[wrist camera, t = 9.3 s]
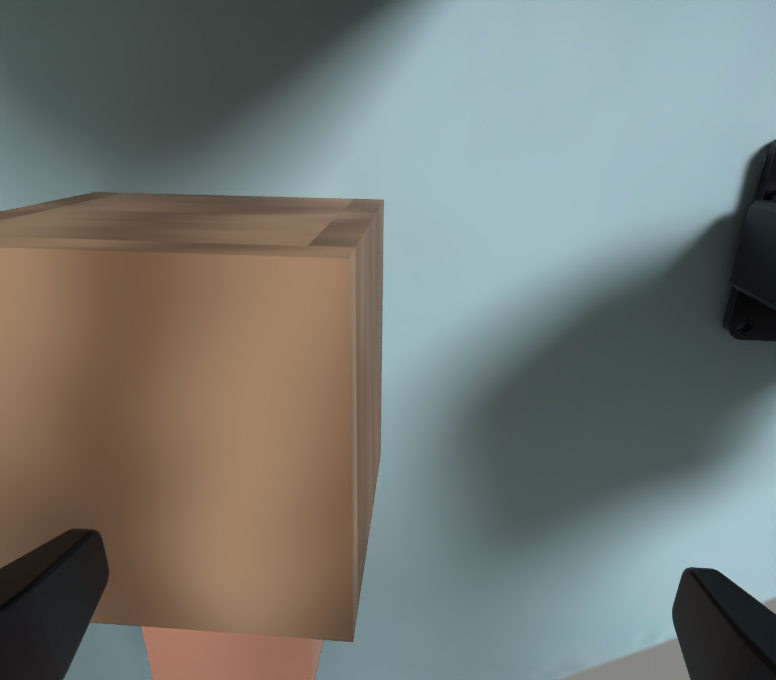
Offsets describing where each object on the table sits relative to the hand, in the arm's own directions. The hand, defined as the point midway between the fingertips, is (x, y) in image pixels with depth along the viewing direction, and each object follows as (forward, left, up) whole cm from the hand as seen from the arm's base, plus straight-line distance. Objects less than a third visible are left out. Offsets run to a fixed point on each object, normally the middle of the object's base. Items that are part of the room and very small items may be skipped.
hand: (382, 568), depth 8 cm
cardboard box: (+6, +1, -12) cm, 13 cm away
